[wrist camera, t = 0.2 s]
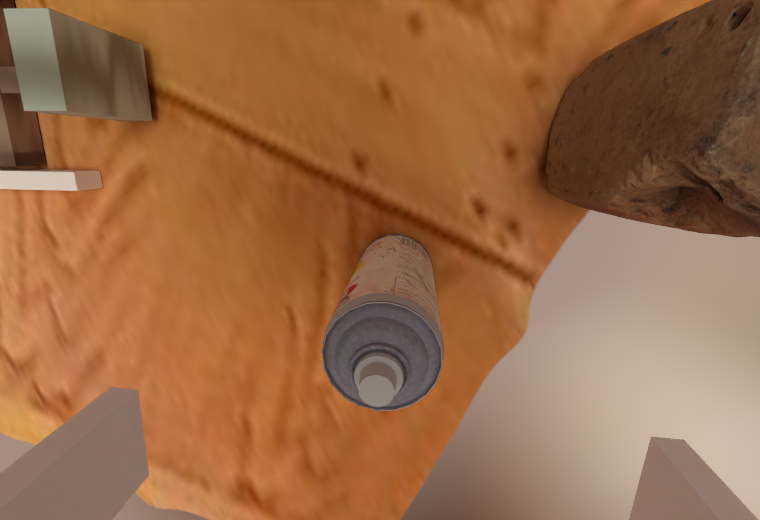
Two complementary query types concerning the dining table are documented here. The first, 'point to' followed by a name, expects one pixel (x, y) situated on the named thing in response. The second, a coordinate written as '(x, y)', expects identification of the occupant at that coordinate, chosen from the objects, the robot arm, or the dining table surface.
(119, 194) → the dining table surface
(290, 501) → the dining table surface
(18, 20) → the square frame with handle
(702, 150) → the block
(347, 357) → the aerosol can
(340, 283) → the dining table surface
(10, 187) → the light grey u-shaped frame
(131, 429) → the robot arm
